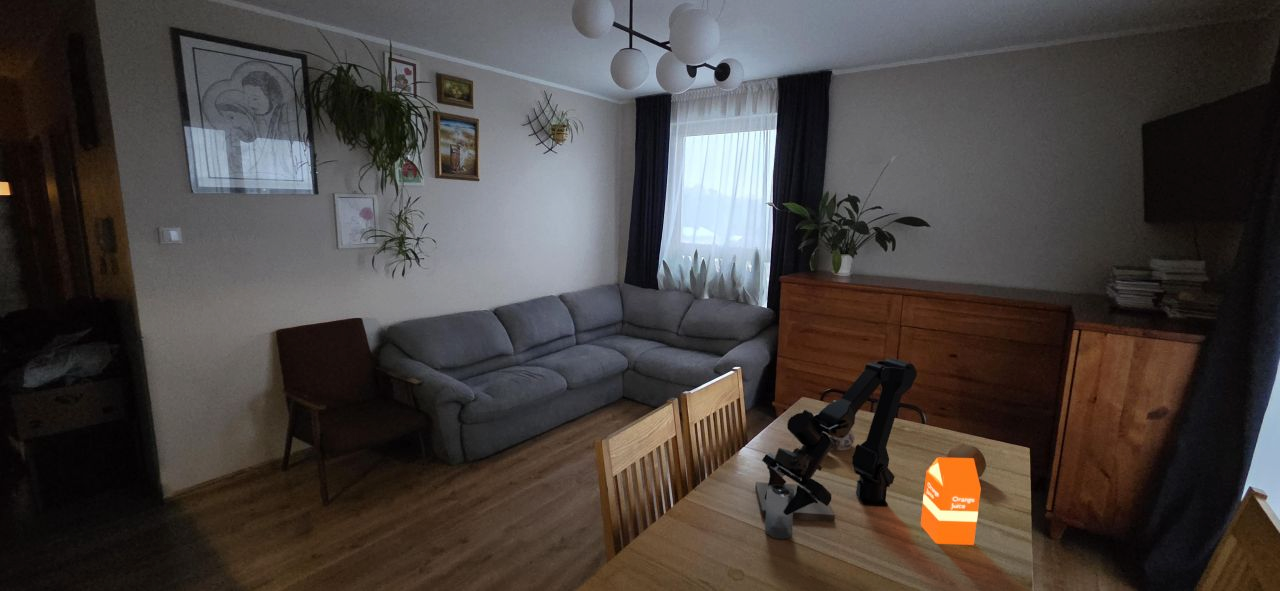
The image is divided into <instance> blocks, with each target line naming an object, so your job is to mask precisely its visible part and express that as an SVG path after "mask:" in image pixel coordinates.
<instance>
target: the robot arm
mask: <svg viewBox="0 0 1280 591" xmlns="http://www.w3.org/2000/svg"><path fill="white" fill-rule="evenodd" d="M917 374H918V372H917V370H916V367H915V365H914V364H913V363H910V362H908V361H903V360H899V359H897V358H893V357H888V358H886V359H885V360H875V362H868V363H867V364H866V365H865V367H864V370H863V371H862V372H861V374H859V376H858V377H857V378H856V380H854V382H853V383H852V385H851V386H850V387H849V388H848V389H847V390H846V391H845V393H844V394H842V396H841V397H840V398H839V399H838V400H837V401H836V402H833V401H832V402H831V403H829V404H828V405H826V406H825V407H824V408H822V410H821V411H819V412H817V413H815V414H813V413H812V412H811V411H809V410H807V409H804V410H803V411H802V412H799V413H796V414H794V415H792V416H790V418H788V421H787V430H788V431H789V432H790V433H791V434H792V436H793V437H794V438H795V439H796V440H797V441H799V443H800V444H801V445H802V446H801V448H798V447H796V448H794V449H793V451H791V450H787V449H785V448H781V447H778V449H777V451H776V454H775V455H774V454H772V453H765V455H764V457H763V458H762V459H761V461H762V462H763V463H764V464H765V465H766V466H767V467H766V468H767V470H768V472H769V480H768V482H767V483H768V486H769V485H772V484H783V485H784V484H787V481H786V479H784V477H785V476H786V477H787V478H789V479H790V480H792V481H794V482H795V483H796V484H797V491H796V494H795V496H794V497H793V499H792V500H791V502H790V503H789V504H788V506H787V508H786V509H785V511H784V514H785V515H789V514H791V513H793V512H795V511H796V510H798V509H800V508H802V507H804V506H807V505H809V504H812V503H816V504H817V503H818V501H820V502H821V503H823V504H824V505H826V506H828V504H829V503H830V504H831V501H832V494H831V492H830V491H829V490H828V489H827V488H826V487H825V486H824V485H823V484H822V483H820V482H818V481H817V480H815V479H813V476H814V475H815V473H816V472H817V470H818V471H819V472H820V471H822V469H823V466H822V463H823V461H824V460H825V459H826V458H827V457H826V455H827V456H828V454H829V453H830V452H831V451H832V450H833V451H835V452H837V451H838V450H837V445H836V440H835V439H833V438H831V437H829V436H828V435H827V434H825V433H823V431H824V432H826V433H828V434H830V435H832V436H835V437H837V438H844V437H845V436H846V435H847V434H848V433H849V431H850V430H851V431H852V428H853V426H854V425H855V423H856V422H855V421H856V415H857V412H859V411H860V410H861V408H862V407H863V406H864V404H865V403H866V402H867V401H868V400H869V398H870V397H871V396H872V395H873V393H874V392H875V391H876V390H877V388H879V386H880V388H881V390H880V393H879V394H880V395H879V398H878V402H877V404H876V408H875V410H874V413H873V417H872V419H871V420H872V421H871V423H870V426H869V430H868V434H867V436H866V440H865V441H864V442H862V443H861V444H858V443H857V445H855V448H854V451H853V455H852V456H851V458H852V461H851V462H852V463H851V464H852V467H853V469H854V470H853V472H854V474H856V475H858V476H859V479H858V480H857V481H856V491H855V494H856V496H857V498H858V499H859V500H860V502H861V503H862V505H863V506H875V507H888V506H889V504H888V502H887V501H886V499H887V490H888V488H890V486H891V485H893V483H894V481H895V478H896V476H895V475H894V473H893V472H892V471H891V469H890V468H889V463H890V456H889V454H888V449H887V446H888V441H889V439H890V435H891V432H892V429H893V425H894V423H895V419H896V416H897V412H898V409H899V406H900V403H901V399H902V396H903V395H904V394H905V393H907V392H909V390H910V389H912V387H913V384H914V383H915V380H916V378H917V376H918V375H917ZM830 450H831V451H830ZM829 451H830V452H829ZM828 452H829V453H828ZM825 457H826V458H825ZM799 485H801V486H803V488H802V487H800V486H799ZM766 498H767V491H766V495H765V500H766ZM817 500H818V501H817Z"/></svg>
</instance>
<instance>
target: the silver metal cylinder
mask: <svg viewBox="0 0 1280 591" xmlns="http://www.w3.org/2000/svg"><path fill="white" fill-rule="evenodd" d="M793 497H794V490H793V489H792V488H791V487H789V486H787V485H783V484H772V485H769V486H768V487H767V498H766V518H765V519H764V520H765V521H764V530H765V532H766V533H767V534H768V535H769V536H770V537H772V538H776V539H778V540H779V539H781V540H783V539H784V540H785V539H788V538H790V537H792V535H793V523H794V519H793V513H791V514H789V515H785V514H784V511H785V509H786V508H787V506H788V504H789V503H790V502H791V500H792V499H793Z"/></svg>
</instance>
